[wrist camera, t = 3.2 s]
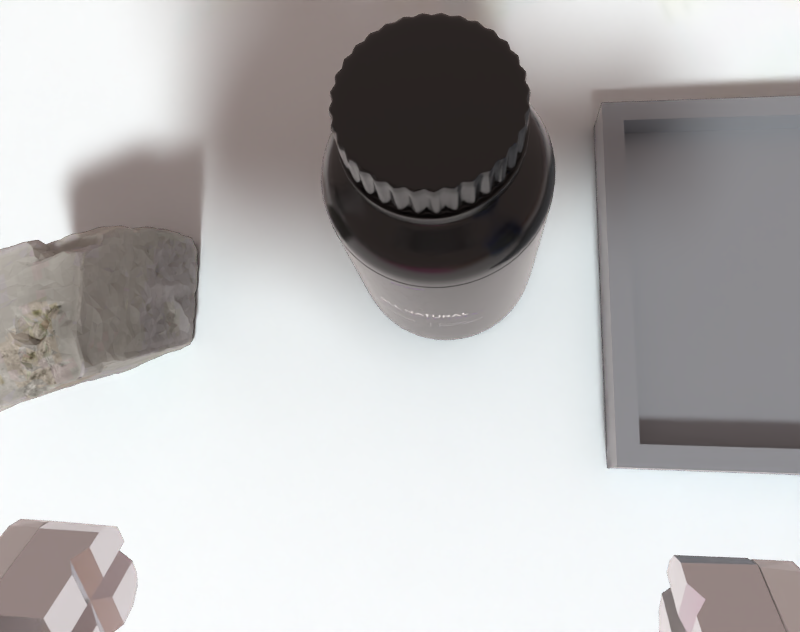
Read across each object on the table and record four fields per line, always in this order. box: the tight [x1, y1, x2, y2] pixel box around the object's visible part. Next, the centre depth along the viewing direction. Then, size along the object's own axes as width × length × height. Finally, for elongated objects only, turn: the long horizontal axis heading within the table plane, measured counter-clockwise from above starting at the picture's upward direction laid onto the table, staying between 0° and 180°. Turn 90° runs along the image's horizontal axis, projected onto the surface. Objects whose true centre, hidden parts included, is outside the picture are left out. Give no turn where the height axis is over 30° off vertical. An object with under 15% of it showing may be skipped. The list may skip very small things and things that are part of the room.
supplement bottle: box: [321, 13, 555, 340], centre depth 21 cm, size 7×7×12 cm
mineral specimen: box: [0, 226, 198, 412], centre depth 24 cm, size 7×9×8 cm
